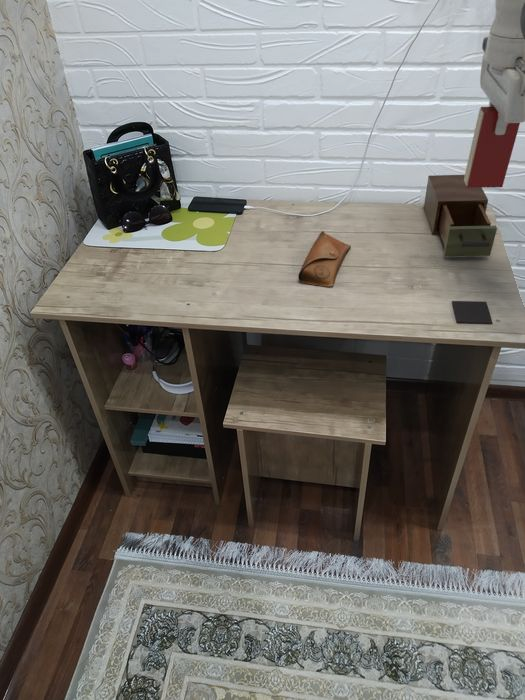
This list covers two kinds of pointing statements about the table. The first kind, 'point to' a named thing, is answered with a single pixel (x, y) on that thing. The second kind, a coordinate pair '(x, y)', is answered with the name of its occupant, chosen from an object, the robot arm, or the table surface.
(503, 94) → the robot arm
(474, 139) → the book
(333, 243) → the sunglasses case
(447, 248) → the drawer
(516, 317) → the table surface
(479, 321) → the coaster
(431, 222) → the cabinet
